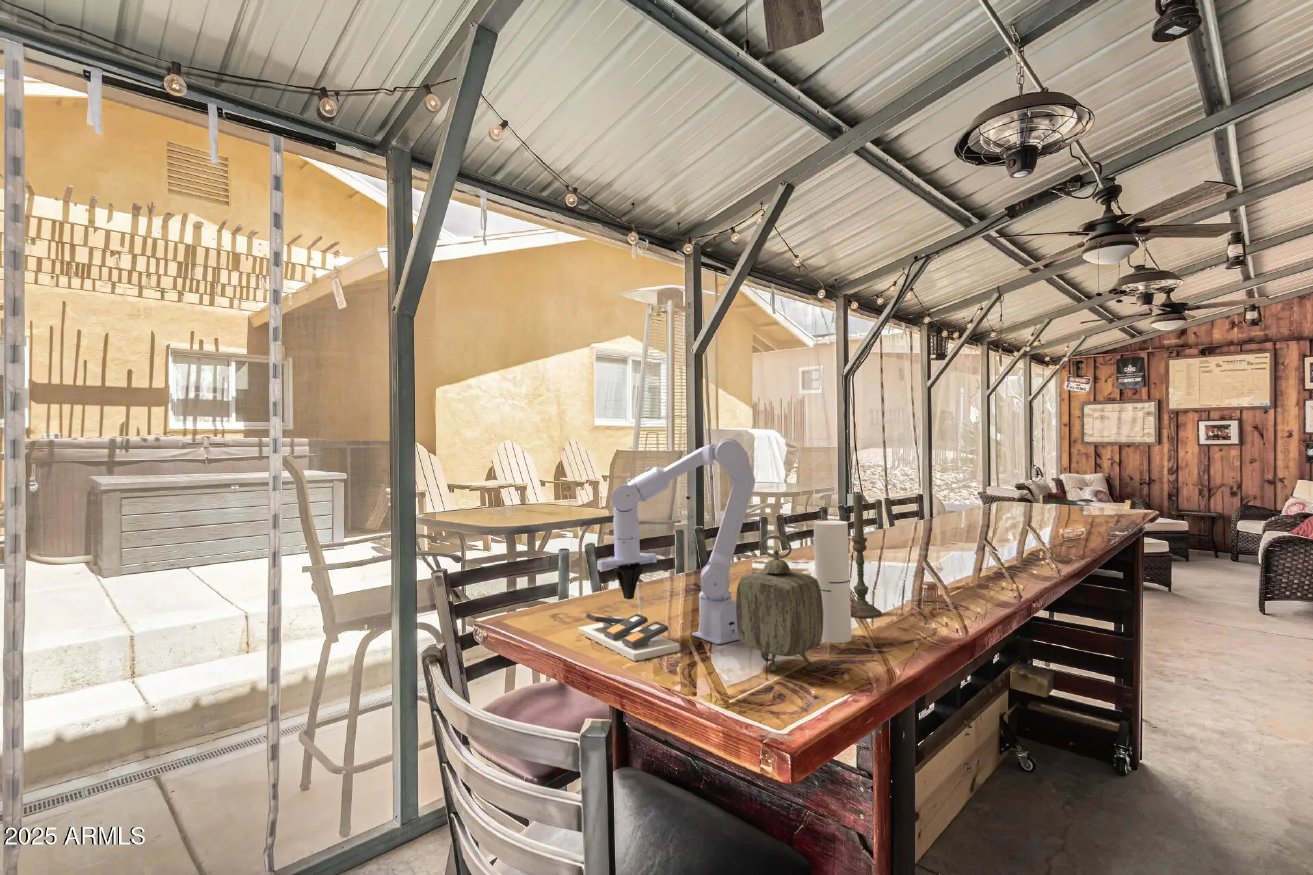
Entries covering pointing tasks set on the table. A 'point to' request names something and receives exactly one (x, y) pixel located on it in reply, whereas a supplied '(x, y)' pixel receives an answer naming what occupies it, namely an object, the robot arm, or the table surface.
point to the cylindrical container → (833, 579)
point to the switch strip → (640, 652)
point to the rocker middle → (625, 626)
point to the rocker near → (644, 634)
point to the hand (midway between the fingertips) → (628, 598)
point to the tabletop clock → (779, 610)
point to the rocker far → (605, 618)
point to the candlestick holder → (860, 565)
